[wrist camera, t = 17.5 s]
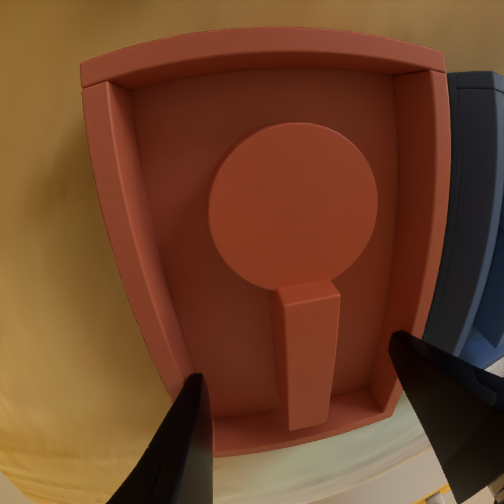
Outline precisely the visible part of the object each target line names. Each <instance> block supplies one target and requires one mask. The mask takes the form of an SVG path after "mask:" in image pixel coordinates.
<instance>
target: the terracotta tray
mask: <svg viewBox="0 0 504 504" xmlns="http://www.w3.org/2000/svg"><path fill="white" fill-rule="evenodd" d="M445 72H446V69H445V62H444V55H443V52H441V51H438V50H435V49H431V48H428V47H424V46H421V45H417V44H413V43H409V42H405V41H401V40H396V39H392V38H387V37H382V36H376V35H371V34H365V33H358V32H351V31H343V30H334V29H322V28H307V27H249V28H234V29H223V30H213V31H205V32H198V33H191V34H185V35H179V36H174V37H168V38H164V39H159V40H154V41H150V42H146V43H142V44H138V45H134V46H130V47H127V48H123V49H120V50H116V51H113V52H110V53H107V54H103V55H100V56H98V57H95V58H92V59H89V60H86V61H84V62H81V63H80V76H81V87H82V88H83V90H82V101H83V110H84V119H85V126H86V134H87V140H88V146H89V152H90V158H91V164H92V169H93V174H94V179H95V184H96V189H97V193H98V198H99V202H100V206H101V210H102V214H103V218H104V222H105V226H106V230H107V233H108V237H109V240H110V244H111V247H112V251H113V254H114V257H115V261H116V264H117V267H118V270H119V273H120V276H121V279H122V282H123V285H124V288H125V291H126V294H127V297H128V300H129V302H130V305H131V308H132V310H133V313H134V316H135V318H136V321H137V324H138V326H139V329H140V331H141V334H142V336H143V338H144V341H145V343H146V346H147V348H148V350H149V353H150V355H151V357H152V359H153V362H154V364H155V366H156V368H157V370H158V373H159V375H160V377H161V379H162V381H163V383H164V385H165V387H166V389H167V391H168V393H169V395H170V397H171V399H172V401H173V403H174V401H175V399H176V398H177V396H178V394H179V392H180V391H181V389H182V387H183V386H184V384H185V382H186V380H187V379H188V377H189V375H190V374H192V373H202V374H203V376H204V378H205V381H206V384H207V387H208V392H209V401H210V410H211V418H212V428H213V458H218V457H228V456H237V455H245V454H252V453H259V452H265V451H271V450H276V449H281V448H286V447H291V446H296V445H300V444H305V443H309V442H313V441H317V440H321V439H325V438H328V437H332V436H335V435H339V434H342V433H345V432H349V431H352V430H355V429H358V428H361V427H364V426H367V425H370V424H372V423H375V422H378V421H381V420H383V419H386V418H388V417H391V416H392V414H393V412H394V410H395V407H396V405H397V403H398V400H399V398H400V395H401V393H402V391H403V388H402V386H401V383H400V381H399V379H398V376H397V373H396V371H395V368H394V366H393V364H392V361H391V359H390V356H389V354H388V346H389V342H390V337H391V334H392V333H393V332H396V331H399V330H403V331H405V332H407V333H409V334H411V335H413V336H415V337H417V338H419V339H421V337H422V334H423V331H424V327H425V324H426V320H427V317H428V313H429V309H430V305H431V301H432V297H433V293H434V289H435V284H436V280H437V275H438V270H439V265H440V259H441V254H442V248H443V241H444V234H445V227H446V219H447V209H448V199H449V185H450V161H451V132H450V110H449V96H448V86H447V77H446V74H444V73H445ZM286 122H307V123H313V124H318V125H321V126H325V127H328V128H330V129H332V130H334V131H336V132H338V133H340V134H341V135H343V136H344V137H346V138H347V139H348V140H349V141H351V142H352V143H353V144H354V145H355V146H356V147H357V148H358V150H359V151H360V152H361V153H362V154H363V156H364V157H365V159H366V161H367V162H368V164H369V166H370V168H371V171H372V173H373V176H374V179H375V182H376V187H377V193H378V210H377V218H376V222H375V226H374V229H373V232H372V235H371V237H370V239H369V242H368V244H367V245H366V247H365V249H364V250H363V252H362V253H361V255H360V256H359V257H358V258H357V260H356V261H355V262H354V263H353V264H352V265H351V266H350V267H349V268H348V269H347V270H346V271H344V272H343V273H342V274H341V275H339V276H338V277H336V278H335V279H333V280H332V281H331V282H332V284H333V285H334V286H335V288H336V289H337V290H338V292H339V293H340V311H339V324H338V336H337V346H336V356H335V365H334V373H333V381H332V389H331V396H330V403H329V410H328V416H327V422H325V423H322V424H318V425H314V426H310V427H306V428H301V429H297V430H292V431H289V430H288V427H287V423H286V419H285V416H284V412H283V408H282V404H281V401H280V397H279V393H278V388H277V376H276V364H275V352H274V341H273V330H272V319H271V308H270V297H269V290H266V289H263V288H260V287H257V286H255V285H252V284H251V283H249V282H247V281H245V280H243V279H242V278H241V277H239V276H238V275H237V274H235V273H234V272H233V271H232V270H231V269H230V268H229V267H228V266H227V265H226V264H225V262H224V261H223V260H222V258H221V257H220V255H219V253H218V252H217V250H216V248H215V246H214V243H213V241H212V238H211V235H210V231H209V226H208V216H207V212H208V192H209V186H210V181H211V178H212V175H213V172H214V170H215V168H216V166H217V164H218V162H219V160H220V159H221V157H222V156H223V154H224V153H225V152H226V151H227V149H228V148H229V147H230V146H231V145H232V144H233V143H234V142H236V141H237V140H238V139H239V138H240V137H242V136H244V135H245V134H247V133H248V132H250V131H252V130H255V129H257V128H259V127H263V126H266V125H270V124H276V123H286Z"/></svg>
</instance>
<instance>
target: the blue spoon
mask: <svg viewBox="0 0 504 504" xmlns="http://www.w3.org/2000/svg"><path fill="white" fill-rule="evenodd" d="M498 226H499V227H500V231H499V236H498V241H497V246H496V251H495V255H494V259H493V264H492V268H491V272H490V275H489V279H488V283H487V286H486V289H485V293H484V296H483V299H482V302H481V305H480V308H479V311H478V314H477V317H476V320H475V323H474V325H473V326H474V328H475V329H476V330H477V331H478V332H479V333H480V334H481V335H482V336H483V337H484V338H485V339H486V340H487V341H488V342H489V343H490V344H491V345H492V346H493V347H494V348H495V349H497V348H499V347H500V346H502V345H503V344H504V184H503V195H502V203H501V211H500V218H499V224H498Z"/></svg>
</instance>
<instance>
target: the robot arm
mask: <svg viewBox="0 0 504 504" xmlns="http://www.w3.org/2000/svg"><path fill="white" fill-rule="evenodd" d="M388 354H389V356H390V359H391V361H392V364H393V366H394V368H395V371H396V373H397V376H398V379H399V381H400V383H401V386H402V388H403V390H404V391H405V393H406V395H407V397H408V399H409V401H410V403H411V405H412V407H413V409H414V411H415V413H416V415H417V417H418V419H419V421H420V423H421V425H422V427H423V429H424V431H425V433H426V435H427V437H428V439H429V441H430V443H431V445H432V447H433V449H434V451H435V454H436V456H437V458H438V460H439V462H440V465H441V467H442V470H443V472H444V474H445V476H446V479H447V481H448V483H449V486H450V488H451V490H452V492H453V495H454V498H455V500H456V502H457V504H461V503H463V502H464V501H466V500H467V499H469V498H470V497H472V496H473V495H475V494H476V493H478V492H479V491H480V490H482V489H483V488H485V487H486V486H488V488H489V490H490V491H491V493H492V495H493V497H494V499H495V501H494V504H504V378H502V377H499V376H497V375H494V374H492V373H490V372H487V371H485V370H483V369H481V368H479V367H477V366H475V365H472V364H470V363H468V362H466V361H464V360H462V359H460V358H458V357H456V356H454V355H452V354H450V353H448V352H446V351H444V350H442V349H440V348H438V347H436V346H434V345H432V344H430V343H427V342H425V341H423V340H421V339H419V338H417V337H415V336H413V335H411V334H409V333H407V332H405V331H403V330H399V331H396V332H393V333H392V334H391V337H390V342H389V346H388ZM148 447H149V448H147V449H146V450H145V452H144V454H143V455H142V457H141V459H140V460H139V462H138V463H137V465H136V466H135V468H134V469H133V470H132V472H131V473H130V474H129V476H128V477H127V478H126V480H125V481H124V482H123V483H122V485H121V486H120V487H119V488H118V490H117V491H116V492H115V493H114V495H113V496H112V497H111V498H110V499H109V501H108V502H107V503H106V504H213V428H212V418H211V410H210V401H209V392H208V387H207V384H206V381H205V378H204V376H203V374H202V373H192V374H190V375H189V377H188V379H187V380H186V382H185V384H184V386H183V387H182V389H181V391H180V392H179V394H178V396H177V398H176V399H175V401H174V403H173V405H172V406H171V408H170V410H169V411H168V413H167V415H166V416H165V418H164V420H163V422H162V423H161V425H160V427H159V428H158V430H157V432H156V434H155V435H154V437H153V439H152V440H151V442H150V444H149V445H148Z"/></svg>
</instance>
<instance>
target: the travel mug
mask: <svg viewBox="0 0 504 504" xmlns="http://www.w3.org/2000/svg"><path fill="white" fill-rule="evenodd" d="M425 501H426V503H427V504H446V503H445V501H444V499H443V497H442V495H441V493H440V492H437V493H435V494H434V495H432V496H430V497H429V498H427V499H426V500H425Z"/></svg>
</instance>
